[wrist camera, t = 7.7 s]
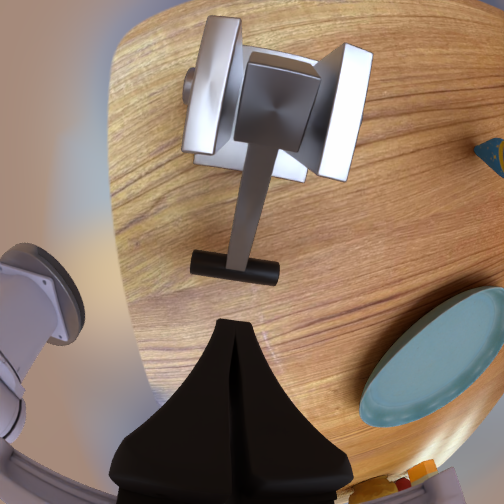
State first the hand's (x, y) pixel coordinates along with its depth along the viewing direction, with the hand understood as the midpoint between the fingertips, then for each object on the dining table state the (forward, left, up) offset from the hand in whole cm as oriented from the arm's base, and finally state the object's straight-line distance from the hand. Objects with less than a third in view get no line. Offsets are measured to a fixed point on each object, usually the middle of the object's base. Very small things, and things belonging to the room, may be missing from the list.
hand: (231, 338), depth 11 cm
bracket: (0, +9, -9) cm, 13 cm away
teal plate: (+27, -11, -10) cm, 31 cm away
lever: (0, +5, -5) cm, 7 cm away
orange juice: (+77, -75, -10) cm, 108 cm away
